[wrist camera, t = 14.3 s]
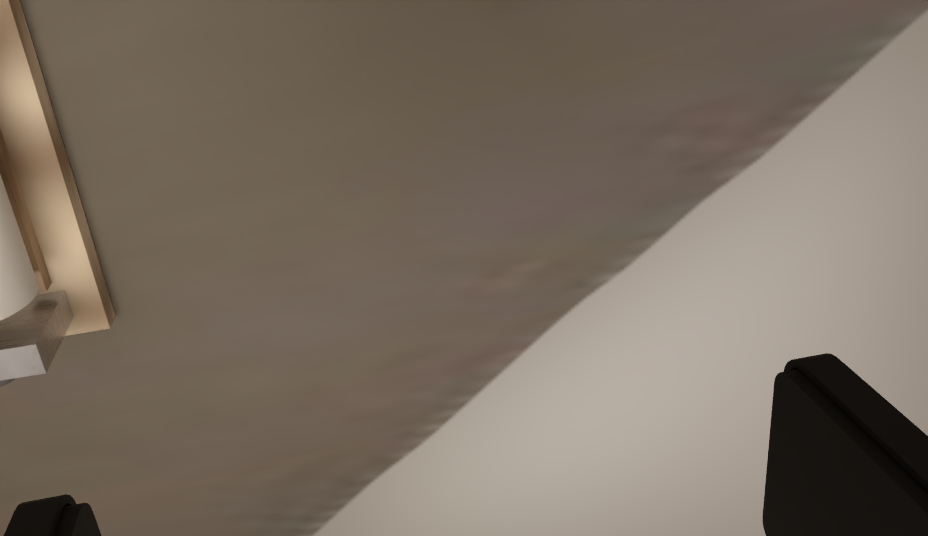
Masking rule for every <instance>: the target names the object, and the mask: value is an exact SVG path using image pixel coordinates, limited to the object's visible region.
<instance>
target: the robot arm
mask: <svg viewBox="0 0 928 536" xmlns="http://www.w3.org/2000/svg"><path fill="white" fill-rule="evenodd" d="M763 526H764V530H765V533H766V536H928V436H927V435H926V434H925V433H923V432H922V431H921V430H920V429H919V428H918V427H917V426H915V425H914V424H913V423H912V422H911V421H910V420H909V419H907V418H906V417H905V416H904V415H903V414H902V413H900V412H899V411H898V410H897V409H896V408H895V407H894V406H892V405H891V404H890V403H889V402H888V401H887V400H885V399H884V398H883V397H882V396H881V395H880V394H879V393H877V392H876V391H875V390H874V389H873V388H872V387H871V386H869V385H868V384H867V383H866V382H865V381H864V380H862V379H861V378H860V377H859V376H858V375H857V374H855V373H854V372H853V371H852V370H851V369H850V368H849V367H847V366H846V365H845V364H844V363H843V362H842V361H840V360H839V359H838V358H837V357H836V356H834V355H832V354H827V353H826V354H821V355H816V356H810V357H805V358H799V359H794V360H791V361H789V362H788V363H787V364H786V366H785V369H784V372H780V373H779V374H777V376H776V378H775V382H774V393H773V405H772V416H771V428H770V440H769V451H768V462H767V474H766V485H765V497H764V508H763ZM4 536H101V533H100V530H99V528H98V525H97V522H96V519H95V516H94V514H93V511H92V509H91V507H90V505H89V504H88V503H81V504H76V502H75V500H74V499H73V498H72V497H71V496H70V495H61V496H56V497H50V498H45V499H40V500H34V501H29V502H23V503H21V504H19V505H18V506H17V508H16V510H15V511H14V514H13V516H12V518H11V520H10V523H9V525H8V527H7V530H6V532H5V534H4Z"/></svg>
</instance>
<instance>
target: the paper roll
mask: <svg viewBox="0 0 928 536" xmlns="http://www.w3.org/2000/svg"><path fill="white" fill-rule="evenodd" d="M38 291H39V286H38V283H37V280H36V277H35V274H34V271H33V268H32V265H31V262H30V259H29V256H28V253H27V251H26V248H25V245H24V242H23V239H22V236H21V233H20V230H19V227H18V224H17V221H16V218H15V216H14V213H13V210H12V207H11V204H10V201H9V198H8V195H7V192H6V189H5V186H4V183H3V181H2V178H1V175H0V321H1V320H3V319H5V318H7V317H9V316H11V315H13V314H15V313H16V312H18V311H20V310H21V309H22V308H24V307H25V306H27V305H28V304H29V303H30V302H31V301H32V300H33V299H34V298H35V297H36V295H37V294H38Z"/></svg>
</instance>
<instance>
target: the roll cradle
mask: <svg viewBox="0 0 928 536" xmlns="http://www.w3.org/2000/svg"><path fill="white" fill-rule="evenodd" d="M0 175H1V178H2V181H3V183H4V186H5V189H6V192H7V195H8V198H9V201H10V204H11V207H12V210H13V213H14V216H15V218H16V221H17V224H18V227H19V230H20V233H21V236H22V239H23V242H24V245H25V248H26V251H27V253H28V256H29V259H30V262H31V265H32V268H33V271H34V274H35V277H36V280H37V283H38V286H39V291H38V294H37V295H36V297H35V298H34V299H33V300H32V301H31V302H30V303H29V304H28V305H27V306H25V307H24V308H22V309H21V310H20V311H18V312H16V313H15V314H13V315H11V316H9V317H7V318H5V319H3V320H1V321H0V386H3V385H5V384H8V383H10V382H11V381H13V380H15V379H16V378H20V377H26V376H32V375H38V374H44V373H46V372H47V370H48V368H49V366H50V364H51V362H52V360H53V358H54V356H55V354H56V352H57V350H58V348H59V346H60V344H61V342H62V340H63V338H64V336H67V335H73V334H79V333H85V332H92V331H98V330H104V329H110V327H111V325H112V322H113V320H114V317H115V312H114V309H113V306H112V302H111V299H110V296H109V293H108V289H107V286H106V283H105V279H104V276H103V273H102V270H101V266H100V263H99V260H98V256H97V253H96V250H95V247H94V243H93V240H92V237H91V233H90V230H89V227H88V223H87V220H86V217H85V214H84V210H83V207H82V204H81V200H80V197H79V194H78V191H77V187H76V184H75V181H74V177H73V174H72V171H71V167H70V164H69V161H68V158H67V154H66V151H65V148H64V144H63V141H62V138H61V135H60V131H59V128H58V125H57V121H56V118H55V115H54V112H53V108H52V105H51V102H50V98H49V95H48V92H47V88H46V85H45V82H44V79H43V75H42V72H41V69H40V65H39V62H38V59H37V56H36V52H35V49H34V46H33V42H32V39H31V36H30V32H29V29H28V26H27V23H26V19H25V16H24V13H23V9H22V6H21V3H20V0H0Z"/></svg>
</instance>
